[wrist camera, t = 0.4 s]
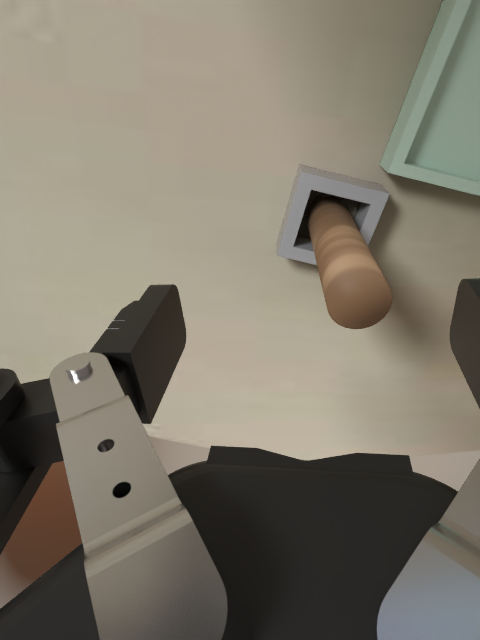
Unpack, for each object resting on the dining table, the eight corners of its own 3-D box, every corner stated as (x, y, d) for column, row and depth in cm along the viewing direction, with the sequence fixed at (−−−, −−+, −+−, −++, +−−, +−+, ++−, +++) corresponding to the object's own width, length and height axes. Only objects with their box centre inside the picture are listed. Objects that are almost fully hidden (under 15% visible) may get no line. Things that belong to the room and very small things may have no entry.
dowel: (313, 190, 32) (339, 266, 20) (353, 200, 32) (403, 281, 20) (301, 230, 34) (318, 321, 22) (339, 239, 34) (377, 334, 22)
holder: (299, 164, 31) (301, 171, 29) (381, 185, 31) (389, 193, 29) (276, 243, 34) (277, 255, 32) (351, 261, 35) (356, 274, 33)
